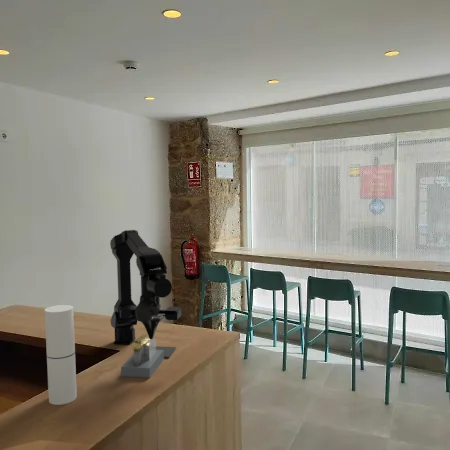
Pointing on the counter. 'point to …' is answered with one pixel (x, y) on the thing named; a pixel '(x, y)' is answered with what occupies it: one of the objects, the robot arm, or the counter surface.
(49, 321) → the cylindrical container
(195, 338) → the counter surface
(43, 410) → the counter surface
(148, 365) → the body
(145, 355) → the lever cap
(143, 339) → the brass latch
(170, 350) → the rubber mat
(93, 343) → the counter surface
